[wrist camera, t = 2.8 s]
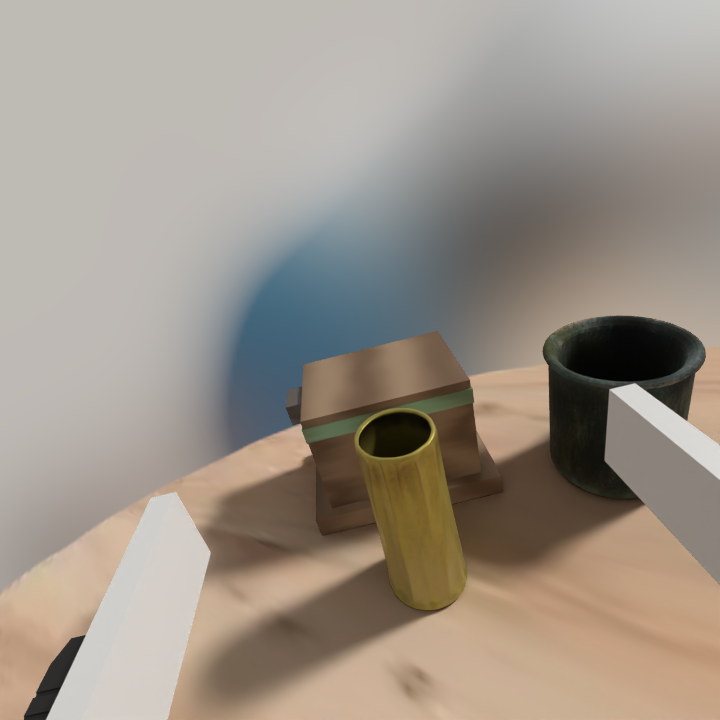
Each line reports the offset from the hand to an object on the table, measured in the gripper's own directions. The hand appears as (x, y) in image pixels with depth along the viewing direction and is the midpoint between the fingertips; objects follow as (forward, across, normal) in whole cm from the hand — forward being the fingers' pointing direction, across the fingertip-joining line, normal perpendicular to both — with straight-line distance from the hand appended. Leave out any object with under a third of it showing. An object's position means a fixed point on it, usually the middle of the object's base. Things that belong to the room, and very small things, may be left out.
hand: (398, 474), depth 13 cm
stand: (+24, +1, -22) cm, 32 cm away
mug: (+20, +21, -22) cm, 36 cm away
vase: (+12, +1, -22) cm, 25 cm away
